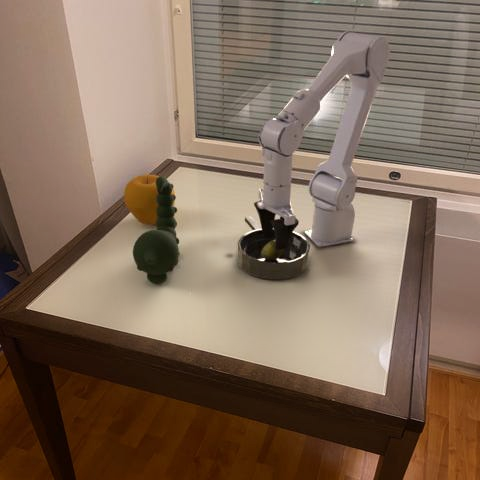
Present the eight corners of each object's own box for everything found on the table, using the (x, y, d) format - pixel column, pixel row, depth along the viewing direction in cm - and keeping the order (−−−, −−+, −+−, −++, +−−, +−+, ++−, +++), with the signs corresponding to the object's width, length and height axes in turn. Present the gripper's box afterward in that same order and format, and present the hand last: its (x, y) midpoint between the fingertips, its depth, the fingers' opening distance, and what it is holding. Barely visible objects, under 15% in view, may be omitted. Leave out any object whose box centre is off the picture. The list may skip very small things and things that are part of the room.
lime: (259, 262, 113) (260, 243, 110) (266, 252, 116) (267, 233, 113) (278, 266, 112) (279, 246, 109) (284, 256, 115) (285, 237, 112)
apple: (133, 235, 123) (128, 192, 116) (121, 214, 133) (115, 172, 126) (183, 226, 128) (180, 183, 121) (168, 206, 137) (165, 165, 130)
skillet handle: (251, 219, 124) (251, 216, 123) (263, 233, 118) (264, 230, 117) (244, 220, 123) (244, 217, 123) (256, 235, 117) (257, 231, 117)
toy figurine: (150, 246, 122) (129, 297, 101) (143, 169, 112) (117, 207, 91) (189, 247, 122) (175, 298, 101) (185, 170, 112) (169, 208, 91)
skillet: (289, 240, 122) (290, 223, 120) (320, 273, 111) (322, 255, 108) (227, 251, 118) (227, 234, 115) (253, 287, 106) (254, 269, 103)
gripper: (246, 171, 107) (245, 228, 115) (273, 198, 96) (270, 259, 104) (276, 167, 109) (273, 223, 117) (306, 193, 98) (301, 253, 106)
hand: (274, 240), depth 111 cm, fingers open, 7 cm apart
